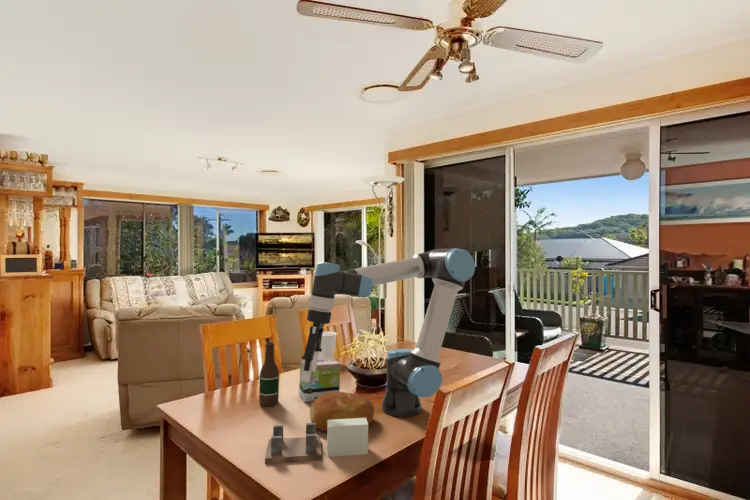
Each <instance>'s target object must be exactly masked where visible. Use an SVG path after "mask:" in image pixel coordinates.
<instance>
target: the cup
mask: <svg viewBox="0 0 750 500" xmlns="http://www.w3.org/2000/svg"><path fill="white" fill-rule="evenodd" d="M337 336H338V333H337V332H335V331H323V333H322V340H321V349H322V351H321V352H319V351H318V352H319V356H318V359H330V358H334V356H335V355H334V354H335V349H336V343H337Z"/></svg>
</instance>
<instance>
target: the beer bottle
mask: <svg viewBox="0 0 750 500" xmlns="http://www.w3.org/2000/svg"><path fill="white" fill-rule="evenodd" d="M264 347H265V353H264V355H265V356H264V363H263V365H262V367H261V369H260V372H259V395H258V396H259V406H260V407H263V408H264V407H265V408H266V407H274V406H276V405H278V404H279V397H280V396H279V385H280V379H279V377H280V376H279V375H280V371H279V367H278V365H277V363H276V362H275V349H274V347H275V343H274V342H266V343H265V345H264Z"/></svg>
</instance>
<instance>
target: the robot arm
mask: <svg viewBox="0 0 750 500" xmlns="http://www.w3.org/2000/svg"><path fill="white" fill-rule="evenodd" d="M475 263H476V262H475V261H474V259H473V255H472V254H471V253H470V252H469V251H467V250H465V249H463V248H457V247H453V248H441V247H440V248H436V249H435V248H434V249H431V250H428V251H424V252H421V253H417V254H413V256H412V257H410V258H405V259H399V260H395V261H394V260H393V261H389V262H384V263H378V264H373V265H367V266H364V267H363V266H362V267H357V268H353V269H348V270H341V267H340V265H339V264H337V263H336V264H335V263H332V262H326V261H319V262H317V264H316V267H315V272H314V274H313V275H314V277H313V283H312V289H311V294H310V295H311V296H310V297H308V301H310V302H309V307H310V308H309V309H308V310H307V316H306V320H307V321H308V322H311V323H313V324H312V325H311V326H310V328H309V333H308V339H307V342H306V345H305V351H304V354H303V355H302V356H301V360H304V363H303V368H302V374H301V379H300V378H299V382H300V381H305V382H309V381H310V375H311V371H313V372H316V367H317V362H318V356H319V352H321V351H322V349H321V340H322V333H323V332H324V326H325V325H328V324H330V322H331V318H332V312H331V311H333V307H334V302H335V296H336V294H338V295H339V294H340V295H346V296H350V297H358V298H364V299H365V298H368V297H369V296H370V295H371V293H372V290H373V286H379V285H383V284H384V285H385V284H388V283H393V282H397V281H403V280H407V279H411V278H417V279H419V280H420V279H424V278H431V280H432V283H433V284H434V286H433V289H432V293H431V296H430V299H429V303H428V306H427V309H426V313H425V315H424V319H423V322H422V325H421V329H420V331H419V332H420V333H419V335H418V339H417V342H416V345H415V348H397V349H396V348H395V349H391V350H388V352H387V355H386V390H385V393H384V396H383V399H382V403H381V410H382V412H383V413H385V414H387V415H390V416H393V417H394V416H395V417H401V418H403V417H405V418H407V417H412V416H417V415H419V414H420V413H421V412H422V403H421V399H420V398H429V397H431V396H433V395H435V394H436V393H437V392H438V391H439V390H440V388H441V387H442V382H443V374H442V372H441V370H440V367H441V363H442V361H441V359H440V357H439V355H440V353H441V348H442V345H443V342H444V339H445V335H446V332H447V328H448V325H449V321H450V318H451V316H452V311H453V309H454V305H455V302H456V301H455V300H456V298H457V295H458V293H459V291H462V290H463V289H464V286H465V283H466V282H467V281H469V280H470V279H472V277H473V276H474V275H475V274H474V273H475V270H476V264H475ZM318 351H319V352H318ZM438 389H439V390H438ZM437 390H438V391H437Z"/></svg>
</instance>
